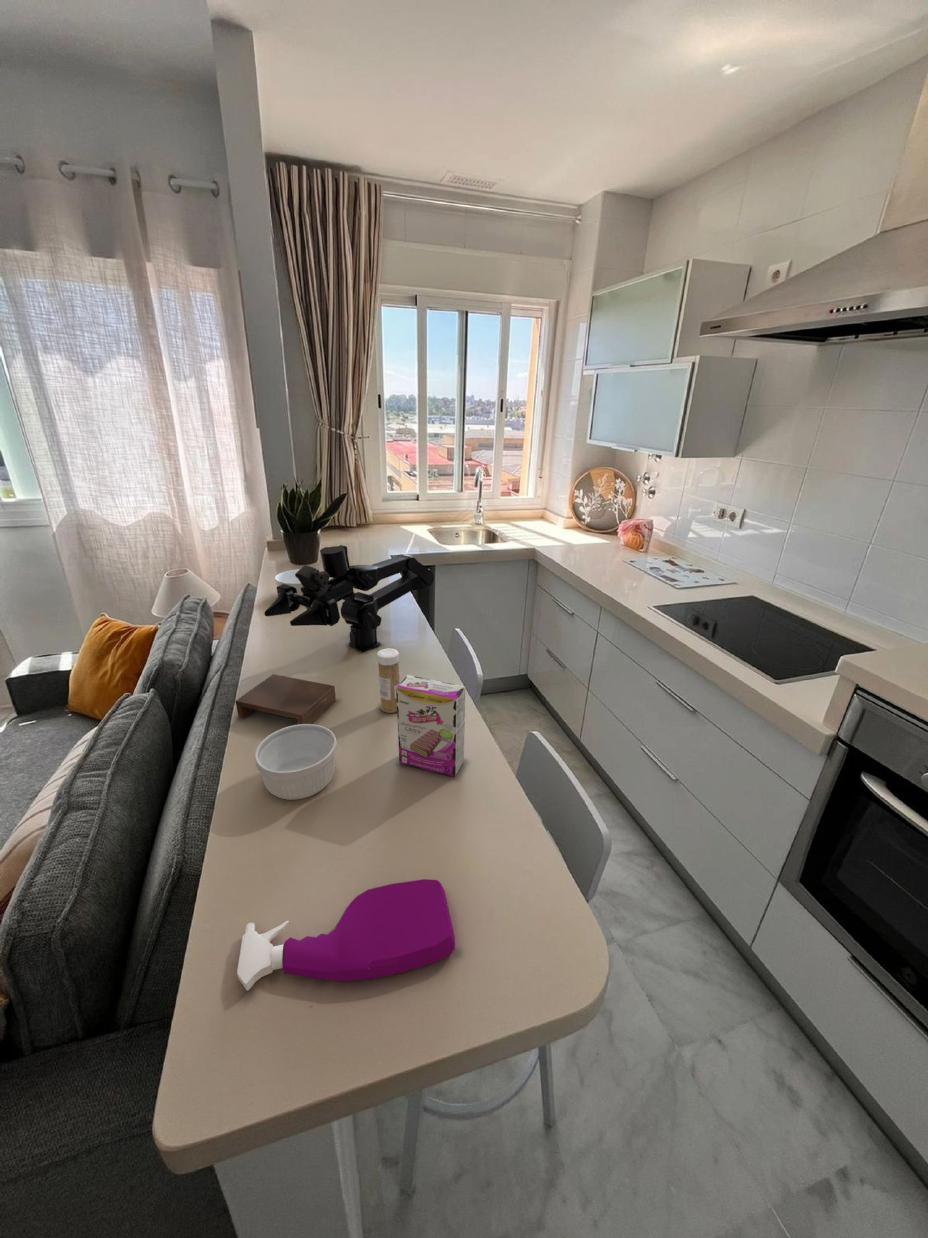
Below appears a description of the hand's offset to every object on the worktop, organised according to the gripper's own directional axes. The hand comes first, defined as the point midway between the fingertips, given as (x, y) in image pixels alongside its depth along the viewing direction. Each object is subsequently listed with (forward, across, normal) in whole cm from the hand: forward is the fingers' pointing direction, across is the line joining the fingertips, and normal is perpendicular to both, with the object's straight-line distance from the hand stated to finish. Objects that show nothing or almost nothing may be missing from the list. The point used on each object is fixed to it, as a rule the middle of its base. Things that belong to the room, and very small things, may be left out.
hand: (277, 618), depth 110 cm
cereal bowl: (-40, -47, +21) cm, 65 cm away
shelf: (+9, +10, +16) cm, 20 cm away
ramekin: (+21, +30, +14) cm, 39 cm away
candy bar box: (+5, +46, +16) cm, 49 cm away
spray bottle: (+36, +58, +12) cm, 70 cm away
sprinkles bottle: (-4, +27, +17) cm, 32 cm away
